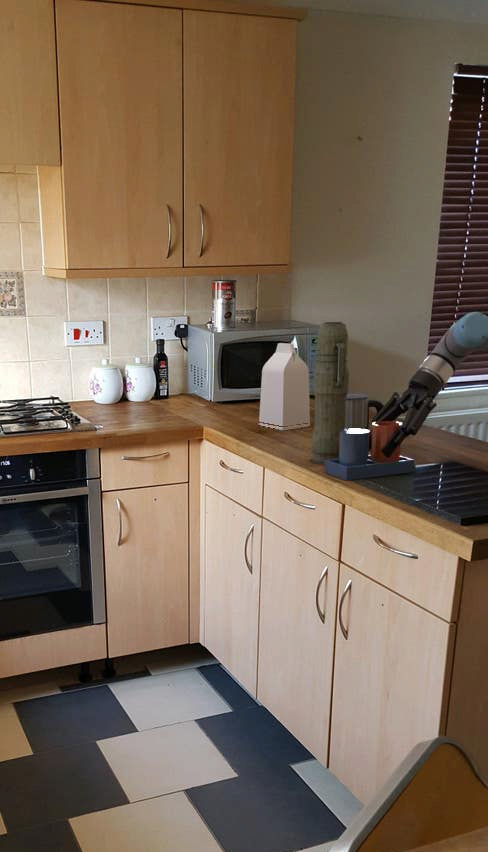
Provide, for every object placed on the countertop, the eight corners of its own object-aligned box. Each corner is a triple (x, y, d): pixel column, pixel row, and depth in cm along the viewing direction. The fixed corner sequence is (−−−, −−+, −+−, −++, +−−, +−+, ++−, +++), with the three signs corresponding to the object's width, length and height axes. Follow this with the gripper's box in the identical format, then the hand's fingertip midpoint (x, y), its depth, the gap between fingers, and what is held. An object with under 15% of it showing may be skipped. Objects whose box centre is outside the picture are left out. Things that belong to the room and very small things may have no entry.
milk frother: (345, 453, 238) (347, 398, 234) (315, 444, 252) (316, 392, 247) (389, 448, 243) (392, 394, 238) (357, 440, 257) (359, 388, 252)
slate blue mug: (373, 473, 212) (375, 431, 208) (348, 476, 209) (350, 434, 206) (357, 467, 218) (358, 427, 215) (332, 470, 215) (334, 430, 212)
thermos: (331, 455, 237) (335, 320, 225) (355, 463, 226) (361, 322, 215) (302, 458, 234) (305, 322, 222) (325, 466, 223) (329, 324, 212)
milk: (258, 425, 286) (259, 343, 278) (285, 422, 292) (287, 341, 284) (282, 430, 277) (284, 345, 268) (310, 426, 282) (312, 343, 274)
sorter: (413, 472, 214) (414, 459, 213) (346, 480, 208) (346, 467, 207) (389, 464, 223) (390, 452, 222) (324, 472, 216) (324, 460, 215)
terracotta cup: (405, 465, 214) (407, 424, 211) (381, 468, 212) (383, 426, 209) (388, 460, 221) (390, 420, 217) (364, 462, 218) (366, 422, 215)
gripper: (467, 393, 209) (410, 468, 207) (409, 385, 226) (356, 454, 224) (452, 372, 205) (393, 448, 203) (394, 365, 222) (340, 436, 220)
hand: (374, 451), depth 214 cm, fingers closed on terracotta cup, 7 cm apart
